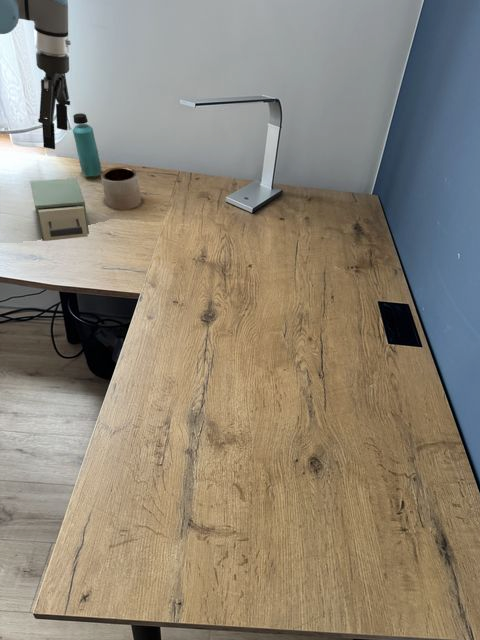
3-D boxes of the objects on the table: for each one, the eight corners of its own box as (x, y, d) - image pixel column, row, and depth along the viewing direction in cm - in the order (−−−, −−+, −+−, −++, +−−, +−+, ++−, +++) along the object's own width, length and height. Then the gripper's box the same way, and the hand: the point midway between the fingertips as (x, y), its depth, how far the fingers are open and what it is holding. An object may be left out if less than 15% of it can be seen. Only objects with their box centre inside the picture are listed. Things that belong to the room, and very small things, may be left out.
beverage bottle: (105, 178, 169) (93, 115, 156) (86, 182, 166) (72, 119, 153) (98, 171, 173) (86, 109, 160) (79, 175, 170) (65, 113, 157)
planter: (124, 192, 164) (120, 163, 158) (148, 202, 160) (145, 172, 153) (99, 204, 157) (92, 175, 151) (123, 215, 153) (118, 185, 146)
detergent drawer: (91, 248, 137) (87, 219, 131) (47, 253, 133) (41, 224, 127) (80, 213, 150) (76, 185, 144) (39, 217, 146) (33, 188, 140)
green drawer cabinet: (89, 236, 143) (84, 201, 136) (42, 241, 139) (34, 205, 132) (81, 211, 153) (76, 178, 146) (37, 215, 148) (29, 181, 141)
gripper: (55, 69, 114) (58, 159, 128) (79, 43, 133) (80, 124, 147) (20, 61, 113) (27, 153, 127) (49, 36, 131) (53, 118, 145)
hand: (56, 138), depth 137 cm, fingers open, 13 cm apart
